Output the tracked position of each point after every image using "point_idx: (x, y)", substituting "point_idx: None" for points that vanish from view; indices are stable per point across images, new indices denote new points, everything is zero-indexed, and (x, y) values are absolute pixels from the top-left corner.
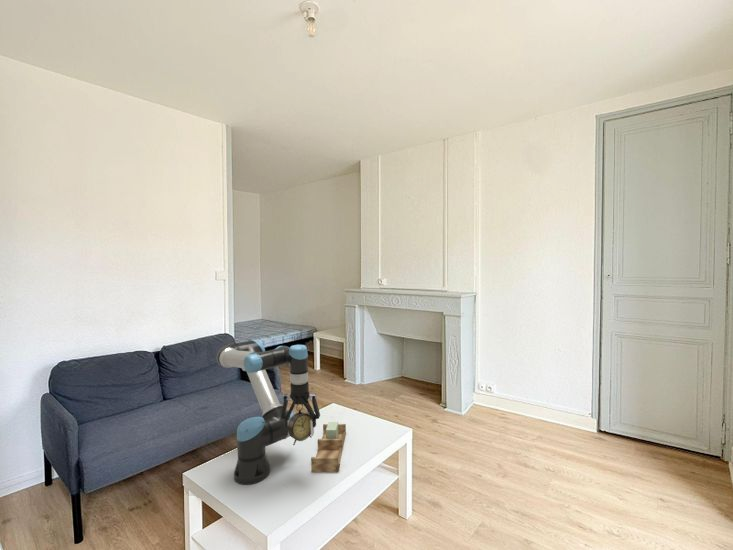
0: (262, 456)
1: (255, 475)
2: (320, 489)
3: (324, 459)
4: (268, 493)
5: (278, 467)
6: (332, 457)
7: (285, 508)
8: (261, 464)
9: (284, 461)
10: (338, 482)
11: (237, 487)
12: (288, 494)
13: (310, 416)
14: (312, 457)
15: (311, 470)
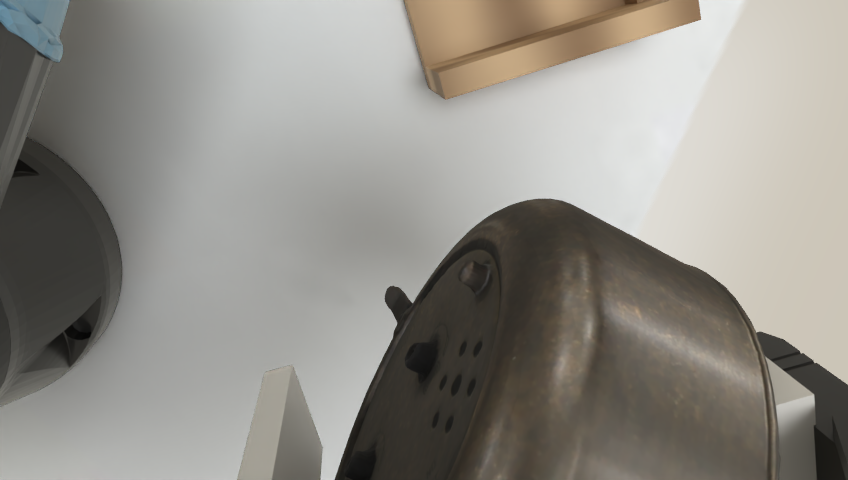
0: (6, 332)
1: (67, 357)
2: None
3: (569, 59)
4: None
5: (114, 110)
6: (642, 17)
7: None
8: (48, 330)
9: (99, 6)
10: (676, 142)
11: (7, 414)
12: None
13: (760, 438)
14: (451, 79)
15: (431, 89)
